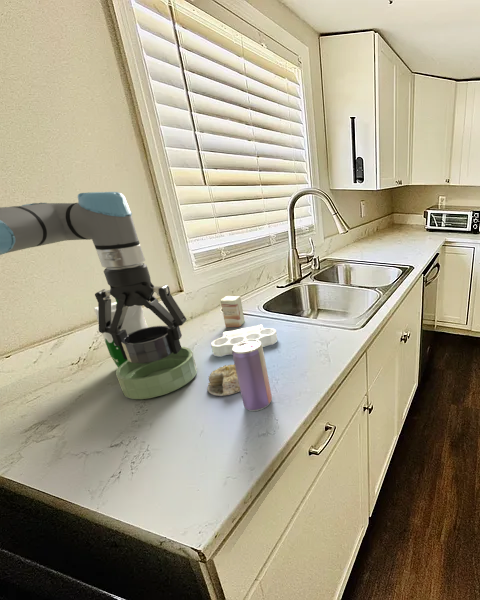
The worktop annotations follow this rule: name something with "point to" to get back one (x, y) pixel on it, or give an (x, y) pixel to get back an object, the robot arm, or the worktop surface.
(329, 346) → the worktop surface
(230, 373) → the cake
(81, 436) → the worktop surface
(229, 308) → the small white box
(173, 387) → the green bowl
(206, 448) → the worktop surface
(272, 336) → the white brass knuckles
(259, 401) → the beverage can
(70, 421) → the worktop surface
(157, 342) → the charcoal bowl
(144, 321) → the milk carton
